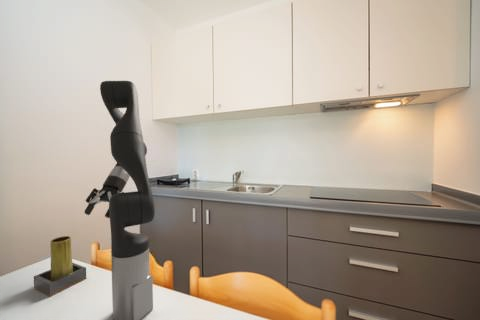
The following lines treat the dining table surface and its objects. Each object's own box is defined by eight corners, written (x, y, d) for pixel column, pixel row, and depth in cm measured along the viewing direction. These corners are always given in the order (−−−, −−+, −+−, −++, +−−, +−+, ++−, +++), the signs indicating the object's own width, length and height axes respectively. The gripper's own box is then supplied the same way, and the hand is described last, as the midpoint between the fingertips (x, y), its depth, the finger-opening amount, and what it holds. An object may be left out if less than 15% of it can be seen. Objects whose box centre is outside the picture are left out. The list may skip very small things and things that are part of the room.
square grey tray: (86, 278, 73) (86, 267, 73) (50, 296, 63) (49, 284, 63) (70, 272, 77) (69, 261, 77) (33, 288, 68) (33, 276, 68)
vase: (52, 288, 66) (51, 244, 66) (48, 281, 70) (46, 239, 69) (75, 279, 71) (74, 238, 71) (70, 273, 75) (69, 234, 74)
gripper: (97, 172, 86) (73, 209, 76) (128, 176, 84) (108, 214, 75) (107, 181, 92) (86, 216, 83) (136, 185, 90) (118, 221, 81)
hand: (96, 215), depth 79 cm, fingers open, 8 cm apart
